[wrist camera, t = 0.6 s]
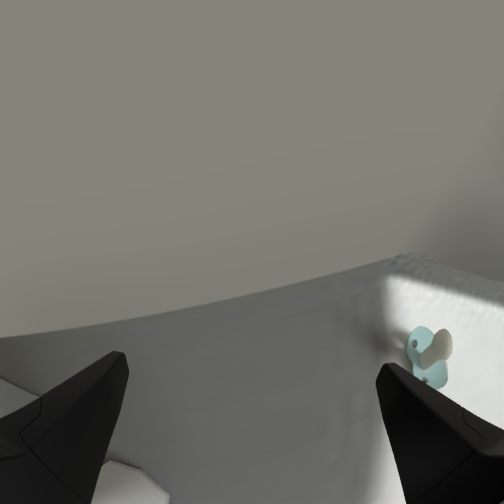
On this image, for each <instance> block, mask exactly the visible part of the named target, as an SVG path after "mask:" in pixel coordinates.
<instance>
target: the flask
mask: <svg viewBox="0 0 504 504" xmlns="http://www.w3.org/2000/svg"><path fill="white" fill-rule="evenodd" d="M169 501H170V495H169V494H168V493H167V492H166V491H165V490H164V489H163V488H162V487H161V486H159V485H158V484H157V483H156V482H155V481H154V480H153V479H152V478H151V477H150V476H149V475H148V474H147V473H146V472H145V471H144V470H142V469H138V468H135V467H131V466H128V465H125V464H122V463H119V462H116V461H113V460H110V461H108V462H107V463H105V464H104V465H103V466H102V468H101V471H100V474H99V477H98V481H97V484H96V488H95V491H94V495H93V498H92V502H91V504H169Z"/></svg>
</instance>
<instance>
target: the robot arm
mask: <svg viewBox="0 0 504 504" xmlns="http://www.w3.org/2000/svg"><path fill="white" fill-rule="evenodd" d="M128 377H129V368H128V364H127V360H126V356H125V354H124V353H123V352H118V351H112V352H110V353H109V354H107V355H105V356H104V357H102V358H101V359H99V360H97V361H96V362H94V363H93V364H91V365H90V366H88V367H86V368H85V369H83V370H82V371H80V372H79V373H77V374H75V375H74V376H72V377H71V378H69V379H67V380H66V381H64V382H63V383H61V384H59V385H58V386H56V387H55V388H53V389H51V390H50V391H48V392H47V393H45V394H43V395H42V397H39V398H37V399H35V400H34V401H32V402H30V403H29V404H27V405H25V406H23V407H22V408H20V409H18V410H16V411H14V412H12V413H10V414H8V415H5V416H3V417H1V418H0V504H91V502H92V498H93V495H94V491H95V488H96V484H97V481H98V477H99V474H100V471H101V468H102V464H103V461H104V458H105V455H106V452H107V449H108V446H109V443H110V440H111V437H112V434H113V431H114V428H115V425H116V422H117V419H118V417H119V413H120V410H121V406H122V402H123V397H124V393H125V389H126V385H127V381H128ZM376 389H377V393H378V398H379V403H380V408H381V413H382V417H383V421H384V424H385V428H386V431H387V434H388V437H389V441H390V444H391V447H392V451H393V454H394V458H395V462H396V465H397V469H398V473H399V476H400V480H401V484H402V488H403V492H404V496H405V501H406V504H504V430H503V429H501V428H499V427H497V426H495V425H493V424H491V423H489V422H487V421H485V420H483V419H482V418H480V417H478V416H476V415H475V414H473V413H471V412H470V411H468V410H466V409H465V408H463V407H461V406H460V405H459V404H457V403H456V402H454V401H452V400H451V399H449V398H448V397H446V396H445V395H443V394H442V393H440V392H439V391H437V390H435V389H434V388H432V387H431V386H429V385H428V384H426V383H425V382H423V381H422V380H420V379H419V378H417V377H416V376H414V375H413V374H411V373H410V372H408V371H406V370H405V369H403V368H402V367H400V366H399V365H397V364H396V363H393V362H392V363H385V364H383V366H382V368H381V370H380V372H379V374H378V376H377V379H376Z"/></svg>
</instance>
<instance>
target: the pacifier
mask: <svg viewBox="0 0 504 504" xmlns="http://www.w3.org/2000/svg"><path fill="white" fill-rule="evenodd" d="M412 341H415V342H416V348H414V347H413V346H412ZM452 348H453V342H452V337H451V335H450V333H449V332H448V330H446V329H441V330H439V331H438V332H437V333H436V334H435V335H434V334H433V332H432V331H431V330H429V329H428V328H426V327H423V326H419V327H417V328H415V329H414V330H413V331H412V332H411V333H410V335H409V337H408V339H407V343H406V350H407V355H408V357H409V359H410V361H411V362H412V367H413V368H412V374H413V375H414V376H416V377H417V378H419V379H420V380H426V381H427V383H426V384H428V385H429V386H431V387H432V388H434V389H435V390H437V389H440V388H442V387H443V386H444V385H445V384H446V383H447V380H448V365H447V361H446V360H447V359H448V358H449V357H450V355H451V353H452Z"/></svg>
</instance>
